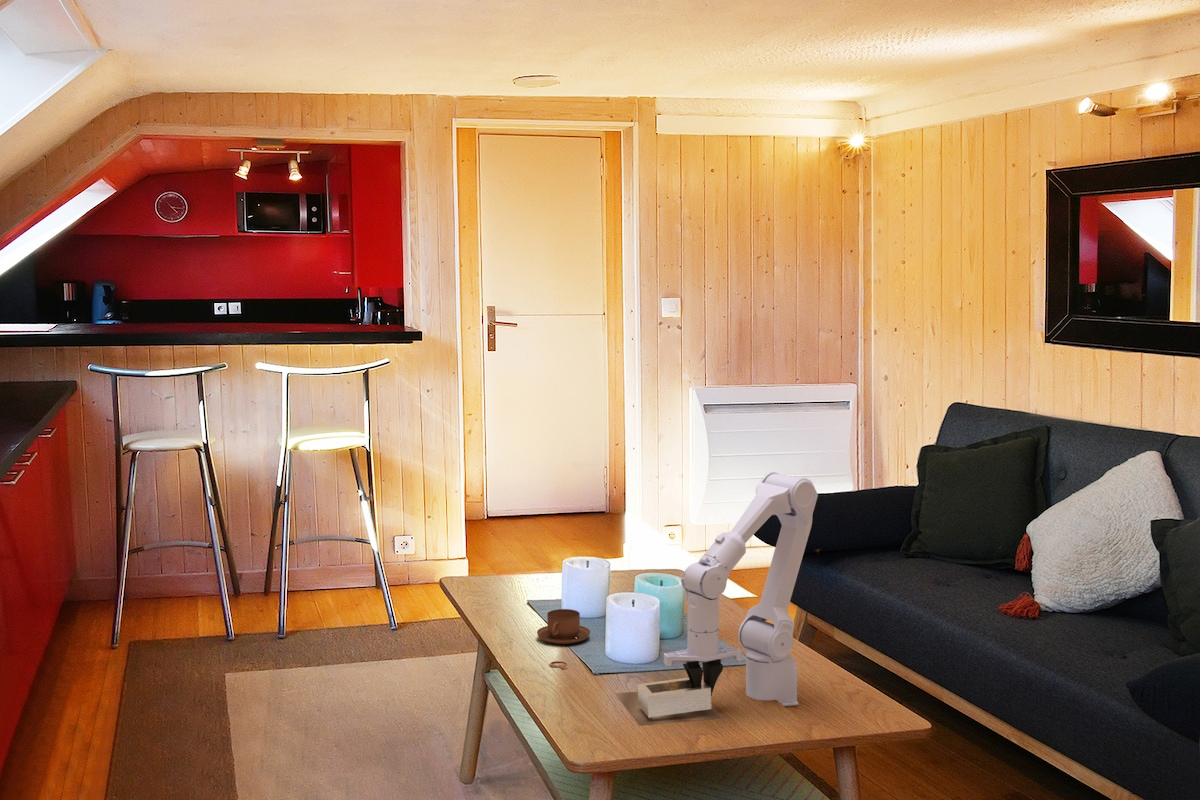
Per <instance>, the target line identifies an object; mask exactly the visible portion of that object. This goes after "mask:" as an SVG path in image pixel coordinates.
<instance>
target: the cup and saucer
mask: <svg viewBox="0 0 1200 800" xmlns="http://www.w3.org/2000/svg"><path fill="white" fill-rule="evenodd" d="M546 614H547V615H546V616H547V625H545V626H543V627H540V628H539V629H537V632H536V634H537V636H538V637H539V638H540V639H541V640H543V641H545V642H547V643H550V644H551V643H552V644H559V645H569V644H571V645H572V644H574V643H575V644H576V643H579V642H582V641H585V640H587V638H589V636H590V634H591V630H590V629H589V628H587V627H585V626H582V625H580V621H581V619H580V618H581V617H580V616H581V615H580V614H581V613H580V611H577V610H575V609H567V608H559V609H558V608H557V609H553V610H550V611H548V612H547V613H546ZM575 637H577V639H576V638H575Z"/></svg>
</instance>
